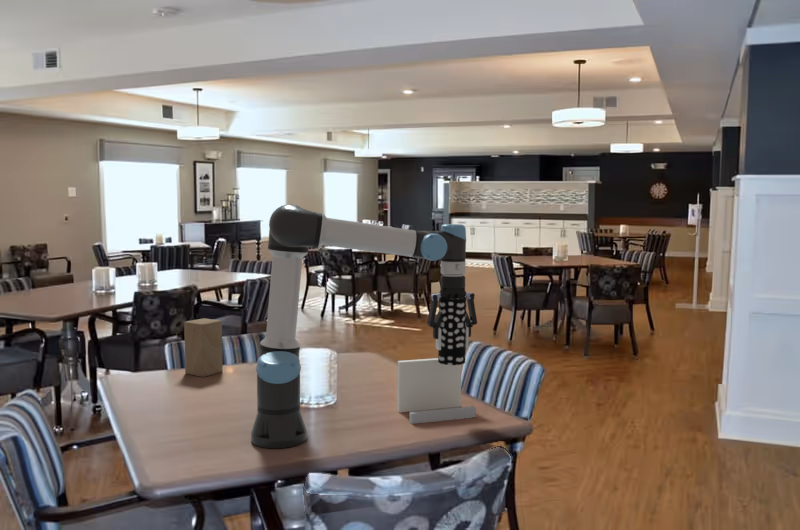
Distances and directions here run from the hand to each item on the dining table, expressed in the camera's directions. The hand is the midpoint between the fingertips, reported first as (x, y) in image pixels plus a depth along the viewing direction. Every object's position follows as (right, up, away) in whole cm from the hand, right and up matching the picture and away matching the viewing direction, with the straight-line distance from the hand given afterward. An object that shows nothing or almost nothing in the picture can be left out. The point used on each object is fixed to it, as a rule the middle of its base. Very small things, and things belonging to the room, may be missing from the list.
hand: (451, 348), depth 210 cm
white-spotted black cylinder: (0, -5, 0) cm, 5 cm away
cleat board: (-5, -21, +3) cm, 22 cm away
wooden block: (-91, -16, +50) cm, 105 cm away
